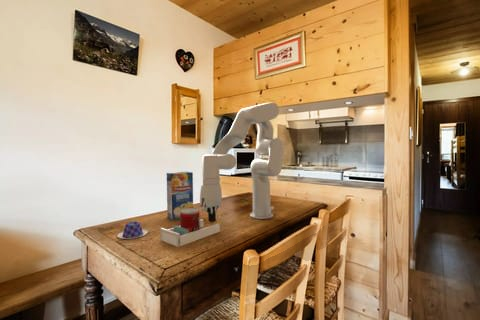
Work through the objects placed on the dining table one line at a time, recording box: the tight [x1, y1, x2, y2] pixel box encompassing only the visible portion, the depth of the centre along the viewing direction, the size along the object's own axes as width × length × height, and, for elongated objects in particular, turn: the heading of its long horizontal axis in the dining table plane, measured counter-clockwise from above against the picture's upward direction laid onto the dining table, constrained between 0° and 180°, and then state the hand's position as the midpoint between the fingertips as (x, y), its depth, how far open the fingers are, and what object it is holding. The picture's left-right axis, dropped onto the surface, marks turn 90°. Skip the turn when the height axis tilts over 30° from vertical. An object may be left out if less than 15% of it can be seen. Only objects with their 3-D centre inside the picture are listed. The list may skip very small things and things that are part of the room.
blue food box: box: [166, 171, 194, 221], centre depth 131 cm, size 12×8×24 cm, turn 126°
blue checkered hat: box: [116, 221, 149, 240], centre depth 104 cm, size 12×12×5 cm
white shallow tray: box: [160, 218, 221, 248], centre depth 102 cm, size 22×12×5 cm, turn 140°
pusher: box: [173, 225, 189, 236], centre depth 97 cm, size 2×9×4 cm, turn 50°
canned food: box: [179, 207, 201, 233], centre depth 101 cm, size 8×8×11 cm
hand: (212, 221), depth 111 cm, fingers closed
